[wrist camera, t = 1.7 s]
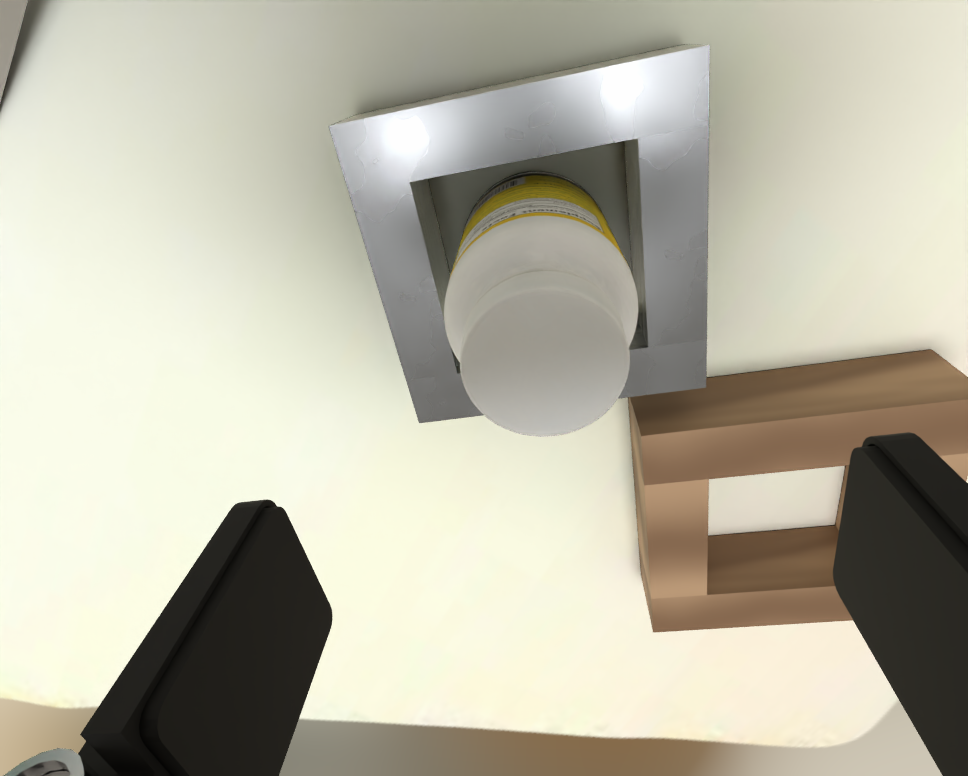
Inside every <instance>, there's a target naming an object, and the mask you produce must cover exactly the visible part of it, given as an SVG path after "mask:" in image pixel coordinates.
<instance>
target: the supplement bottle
mask: <svg viewBox="0 0 968 776" xmlns="http://www.w3.org/2000/svg"><path fill="white" fill-rule="evenodd" d="M637 319H638V296H637V290H636V286H635V283H634V279H633V276H632V273H631V270H630V268H629V266H628V264H627V262H626V260H625V258H624V256H623V254H622V252H621V250H620V248H619V246H618V244H617V242H616V240H615V238H614V236H613V234H612V232H611V229H610V228H609V226H608V224H607V222H606V219H605V218H604V216H603V214H602V212H601V210H600V208H599V207H598V205H597V204H596V202H595V201H594V199H593V198H592V197H591V196H590V195H589V194H588V193H587V192H586V191H585V190H584V189H583V188H582V187H581V186H579V185H578V184H576V183H575V182H573V181H571V180H569V179H567V178H565V177H563V176H560V175H556V174H553V173H547V172H526V173H521V174H517V175H514V176H511V177H509V178H506V179H504V180H502V181H501V182H499V183H497V184H496V185H494V186H493V187H492V188H490V189H489V190H488V191H487V192H486V193H485V194H484V195H483V196H482V197H481V198H480V199H479V201H478V202H477V203H476V205H475V206H474V208H473V210H472V212H471V214H470V216H469V218H468V220H467V223H466V225H465V228H464V232H463V235H462V239H461V242H460V246H459V249H458V253H457V256H456V259H455V263H454V266H453V269H452V272H451V275H450V279H449V283H448V288H447V292H446V296H445V304H444V321H445V330H446V334H447V337H448V341H449V343H450V346H451V348H452V350H453V352H454V354H455V356H456V358H457V359H458V361H459V362H460V372H461V377H462V381H463V384H464V387H465V389H466V392H467V394H468V396H469V397H470V399H471V401H472V402H473V403H474V405H475V406H476V407H477V408H478V409H479V411H480V412H481V413H482V414H484V415H485V416H486V417H487V418H488V419H490V420H491V421H492V422H494V423H495V424H497V425H499V426H501V427H503V428H505V429H508V430H510V431H513V432H516V433H519V434H523V435H530V436H540V437H541V436H557V435H562V434H567V433H570V432H573V431H576V430H579V429H581V428H583V427H585V426H587V425H589V424H591V423H593V422H594V421H596V420H597V419H599V418H600V417H601V416H602V415H603V414H605V413H606V412H607V411H608V410H609V409H610V408H611V407H612V405H613V404H614V403H615V402H616V400H617V399H618V397H619V396H620V394H621V392H622V390H623V388H624V386H625V383H626V380H627V377H628V373H629V366H630V352H629V346H630V344H631V342H632V339H633V336H634V333H635V330H636V325H637Z"/></svg>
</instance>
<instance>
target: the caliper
mask: <svg viewBox="0 0 968 776" xmlns="http://www.w3.org/2000/svg"><path fill="white" fill-rule="evenodd" d="M27 3H28V0H0V102H1V98H2V95H3V91H4V87H5V84H6V80H7V76H8V73H9V69H10V65H11V62H12V58H13V54H14V51H15V47H16V43H17V40H18V36H19V32H20V28H21V25H22V21H23V17H24V14H25V10H26V7H27Z"/></svg>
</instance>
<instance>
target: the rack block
mask: <svg viewBox="0 0 968 776" xmlns="http://www.w3.org/2000/svg"><path fill="white" fill-rule="evenodd" d="M628 404H629V418H630V432H631V445H632V459H633V473H634V486H635V500H636V514H637V527H638V541H639V555H640V568H641V577H642V582H643V587H644V591H645V596H646V601H647V605H648V610H649V615H650V619H651V624H652V629H653V632H667V631H684V630H700V629H717V628H733V627H750V626H766V625H783V624H799V623H816V622H832V621H849V620H853V619H852V617H851V615H850V614H849V612H848V610H847V608H846V607H845V605H844V603H843V601H842V600H841V598H840V596H839V594H838V592H837V590H836V587H835V584H834V580H833V566H834V559H835V553H836V547H837V540H838V534H839V527H840V521H841V515H842V508H843V502H844V495H845V489H846V483H847V476H848V470H849V463H850V457H851V453H852V451H853V449H854V448H857V447H862V444H863V442H864V440H865V439H866V438H867V437H870V436H878V435H888V434H897V433H907V432H910V433H915V434H916V435H917V436H919V437H920V438H921V439H922V440H923V441H924V442H925V443H926V444H927V445H928V446H929V447H930V448H932V449H933V450H934V451H935V452H936V453H937V454H938V455H939V456H940V457H941V458H942V459H943V460H944V461H945V462H946V463H947V464H948V465H949V466H950V467H951V468H952V469H953V470H954V471H955V472H956V473H957V474H958V475H959V476H960V477H961V478H962V479H963V480H965V481H966V479H967V476H968V377H967V376H966V375H964V374H963V373H962V372H960V371H959V370H958V369H957V368H955V367H954V366H953V365H951V364H950V363H949V362H947V361H946V360H945V359H943V358H942V357H941V356H939V355H938V354H937V353H936V352H934V351H933V350H924V351H916V352H909V353H901V354H893V355H885V356H877V357H869V358H861V359H853V360H845V361H837V362H829V363H822V364H814V365H806V366H798V367H790V368H782V369H774V370H766V371H758V372H750V373H742V374H735V375H727V376H719V377H711V378H706V388H699V389H691V390H683V391H675V392H667V393H659V394H650V395H642V396H634V397H628ZM845 465H846V467H845V473H844V478H843V484H842V490H841V496H840V502H839V507H838V513H837V519H836V525H835V526H824V527H812V528H800V529H788V530H777V531H765V532H753V533H741V534H729V535H718V536H708V491H709V479H715V478H725V477H735V476H745V475H755V474H765V473H775V472H785V471H795V470H805V469H815V468H825V467H835V466H845Z"/></svg>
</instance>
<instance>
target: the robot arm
mask: <svg viewBox="0 0 968 776" xmlns="http://www.w3.org/2000/svg"><path fill="white" fill-rule="evenodd" d="M833 580H834V584H835V587H836V590H837V592H838V594H839V596H840V598H841V600H842V601H843V603H844V605H845V607H846V608H847V610H848V612H849V614H850V615H851V617H852V619H853V621H854V622H855V624H856V626H857V628H858V629H859V631H860V633H861V634H862V636H863V638H864V640H865V641H866V643H867V645H868V647H869V648H870V650H871V652H872V654H873V655H874V657H875V659H876V661H877V662H878V664H879V666H880V667H881V669H882V671H883V673H884V674H885V676H886V678H887V680H888V681H889V683H890V685H891V687H892V688H893V690H894V692H895V694H896V695H897V697H898V699H899V701H900V702H901V704H902V706H903V707H904V709H905V711H906V713H907V714H908V716H909V718H910V719H911V721H912V723H913V725H914V727H915V728H916V730H917V732H918V734H919V735H920V737H921V739H922V740H923V742H924V744H925V745H926V747H927V749H928V751H929V753H930V754H931V756H932V758H933V760H934V761H935V763H936V765H937V767H938V768H939V770H940V772H941V773H942V775H943V776H968V483H967V482H966V481H965V480H963V479H962V478H961V477H960V476H959V475H958V474H957V473H956V472H955V471H954V470H953V469H952V468H951V467H950V466H949V465H948V464H947V463H946V462H945V461H944V460H943V459H942V458H941V457H940V456H939V455H938V454H937V453H936V452H935V451H934V450H933V449H932V448H930V447H929V446H928V445H927V444H926V443H925V442H924V441H923V440H922V439H921V438H920V437H919V436H917V435H916V434H915V433H910V432H907V433H897V434H888V435H878V436H870V437H867V438H866V439H865V440H864V442H863V444H862V447H857V448H854V449H853V451H852V453H851V457H850V463H849V470H848V476H847V483H846V489H845V495H844V502H843V508H842V515H841V521H840V527H839V534H838V540H837V547H836V553H835V559H834V566H833ZM331 625H332V609H331V606H330V604H329V602H328V600H327V597H326V595H325V593H324V591H323V589H322V587H321V585H320V583H319V581H318V578H317V576H316V574H315V572H314V570H313V568H312V566H311V564H310V562H309V560H308V557H307V555H306V553H305V551H304V549H303V547H302V545H301V543H300V541H299V539H298V536H297V534H296V532H295V530H294V528H293V526H292V524H291V522H290V520H289V518H288V515H287V513H286V512H285V510H284V509H283V508H282V507H277V506H276V504H275V503H274V502H273V501H271V500H259V501H250V502H240V503H237V504H235V505H234V506H233V507H232V508H231V510H230V511H229V513H228V514H227V516H226V517H225V519H224V520H223V522H222V523H221V525H220V526H219V528H218V529H217V531H216V532H215V534H214V535H213V537H212V538H211V540H210V541H209V543H208V544H207V546H206V547H205V549H204V550H203V552H202V553H201V555H200V556H199V558H198V559H197V561H196V562H195V564H194V565H193V567H192V568H191V570H190V571H189V573H188V574H187V576H186V577H185V579H184V580H183V582H182V583H181V585H180V586H179V588H178V589H177V591H176V592H175V594H174V595H173V597H172V598H171V600H170V601H169V603H168V604H167V606H166V607H165V608H164V610H163V611H162V613H161V614H160V616H159V617H158V619H157V620H156V622H155V623H154V625H153V626H152V628H151V629H150V631H149V632H148V634H147V635H146V637H145V638H144V640H143V641H142V643H141V644H140V646H139V647H138V649H137V650H136V652H135V653H134V655H133V656H132V658H131V659H130V661H129V662H128V664H127V665H126V667H125V668H124V670H123V671H122V673H121V674H120V676H119V677H118V679H117V680H116V682H115V683H114V685H113V686H112V688H111V689H110V691H109V692H108V694H107V695H106V697H105V698H104V700H103V701H102V703H101V704H100V706H99V707H98V709H97V710H96V712H95V713H94V715H93V716H92V718H91V719H90V721H89V722H88V724H87V725H86V727H85V728H84V730H83V731H82V733H81V734H80V735H81V736H82V737H83V738H84V739H85V740H86V743H85V744H84V746H83V747H82V749H81V750H80V752H79V753H78V754H77V753H75V752H74V751H73V750H71V749H60V748H57V749H53V750H50V751H46V752H42V753H40V754H38V755H36V756H34V757H32V758H30V759H28V760H26V761H24V762H22V763H21V764H19V765H18V766H16V767H15V768H14V769H12V770H11V771H9V772H8V773H7V774H5V775H4V776H279V773H280V770H281V767H282V765H283V762H284V759H285V756H286V753H287V751H288V748H289V745H290V742H291V739H292V736H293V734H294V731H295V728H296V725H297V722H298V719H299V717H300V714H301V711H302V708H303V705H304V702H305V700H306V697H307V694H308V691H309V688H310V685H311V683H312V680H313V677H314V674H315V671H316V668H317V666H318V663H319V660H320V657H321V654H322V651H323V649H324V646H325V643H326V640H327V637H328V635H329V632H330V629H331Z"/></svg>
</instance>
